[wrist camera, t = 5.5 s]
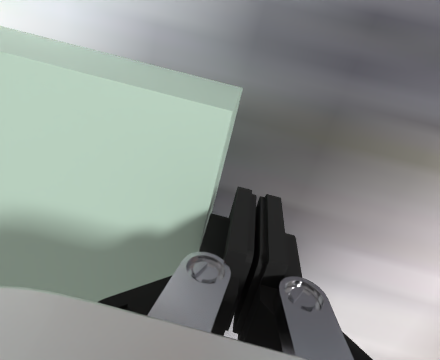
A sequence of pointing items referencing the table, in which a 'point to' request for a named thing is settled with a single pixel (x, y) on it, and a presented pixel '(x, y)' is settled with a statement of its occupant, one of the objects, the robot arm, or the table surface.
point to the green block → (103, 166)
